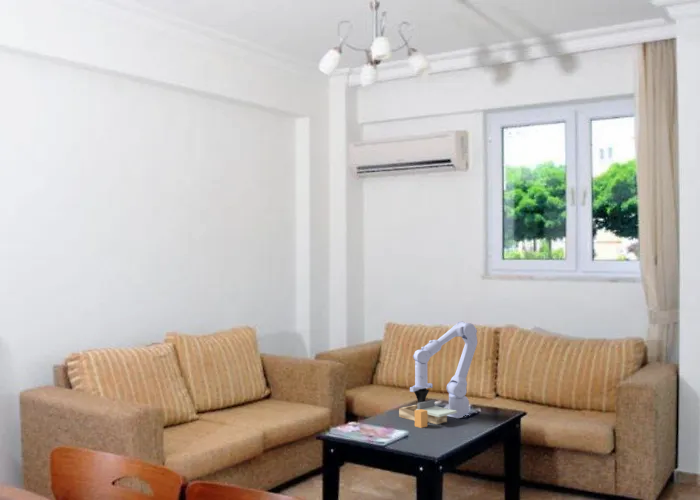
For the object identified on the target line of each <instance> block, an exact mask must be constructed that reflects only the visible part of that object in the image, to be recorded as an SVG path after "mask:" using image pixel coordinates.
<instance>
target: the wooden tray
mask: <svg viewBox="0 0 700 500" xmlns="http://www.w3.org/2000/svg"><path fill="white" fill-rule="evenodd" d="M398 409H399V410H398V417H399V418H403V419H406V420H409V421H414V422H415V410H416V409H417V404H413V405H409V406H402V407H399V408H398ZM427 423H430V424H434V425H440V424H443V423H448V416H447V415H446V416H442V417H436V416H432V415H428V414H427Z"/></svg>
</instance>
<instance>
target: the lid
mask: <svg viewBox="0 0 700 500" xmlns="http://www.w3.org/2000/svg"><path fill="white" fill-rule="evenodd" d="M435 402H436V401H435V399H429V400H425V401H424V402H420V403H418V402H417V404H416V405H417V409H416V410H419V409H423V410H427V414H428V415H432V416H436V417H442V416H446V415H450V414H454V413H457V411H456V410H451V409H449V408H447V407H446V408H445V407H441V406H438V405H436V404H435Z"/></svg>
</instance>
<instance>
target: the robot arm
mask: <svg viewBox="0 0 700 500" xmlns="http://www.w3.org/2000/svg"><path fill="white" fill-rule="evenodd" d="M477 332H478V330H477V328H476V326H475V325H474V324H473V323H472V322H471V323H470V322H465V321H463V320H462V321H458V322H457V323H456V324H454V325H453V326H452V327H451V328H450V329H449V330H447V331H446V332H445V333H444V334H442V335H441V336H440V337H439V338H438V339H432V340H431V339H430V340H429V341H428V343H426V344H425V345H424V346H421V347H420V349H417V350H415V351H414V353H413V355H412V358H413V360H414V385H413V386H410V387H409V392H411V393H414V394H415V396H416V399H417V403H420V402H424V401H426V398H427V396H428V394H429V391H430V390H429V389H431V388H433V383H431V382H429V383H428V362H429V361H430V359H431V358H432V357H433V356H434V355H436V354H437V353H439V352H440V351H441V350H442V347H443V345H445V344H446V343H448V342H449V341H451V340H452V339H454V338H455V337H456V338H457V337H461V339H462V340H463V342H464V347H463V349H462V351H461V356H460V358H459V360H458V364H457V367H456V371H455V374H454V375H453V376H452V377H451V378H450V381H448V383H447V385H446V391H447V393H448V409H451V410H456V411H457V413H454V414H450V415H447V417H449V418H450V417H451V418H455V419H460V418H464V417H463V415H464V414H468V413H469V414H470V401H469V398H468V397H467V396H466V394H467V386H468V382H467V376H468V373H469V370H470V367H471V365H472V361H473V358H474V354H475V352H476V349H477V346H478V336H477Z"/></svg>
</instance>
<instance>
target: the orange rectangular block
mask: <svg viewBox="0 0 700 500" xmlns="http://www.w3.org/2000/svg"><path fill="white" fill-rule="evenodd" d="M414 427H415V428H421V429H423V428H427V427H428V422H427V410H423V409H419V410H415V421H414Z"/></svg>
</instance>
